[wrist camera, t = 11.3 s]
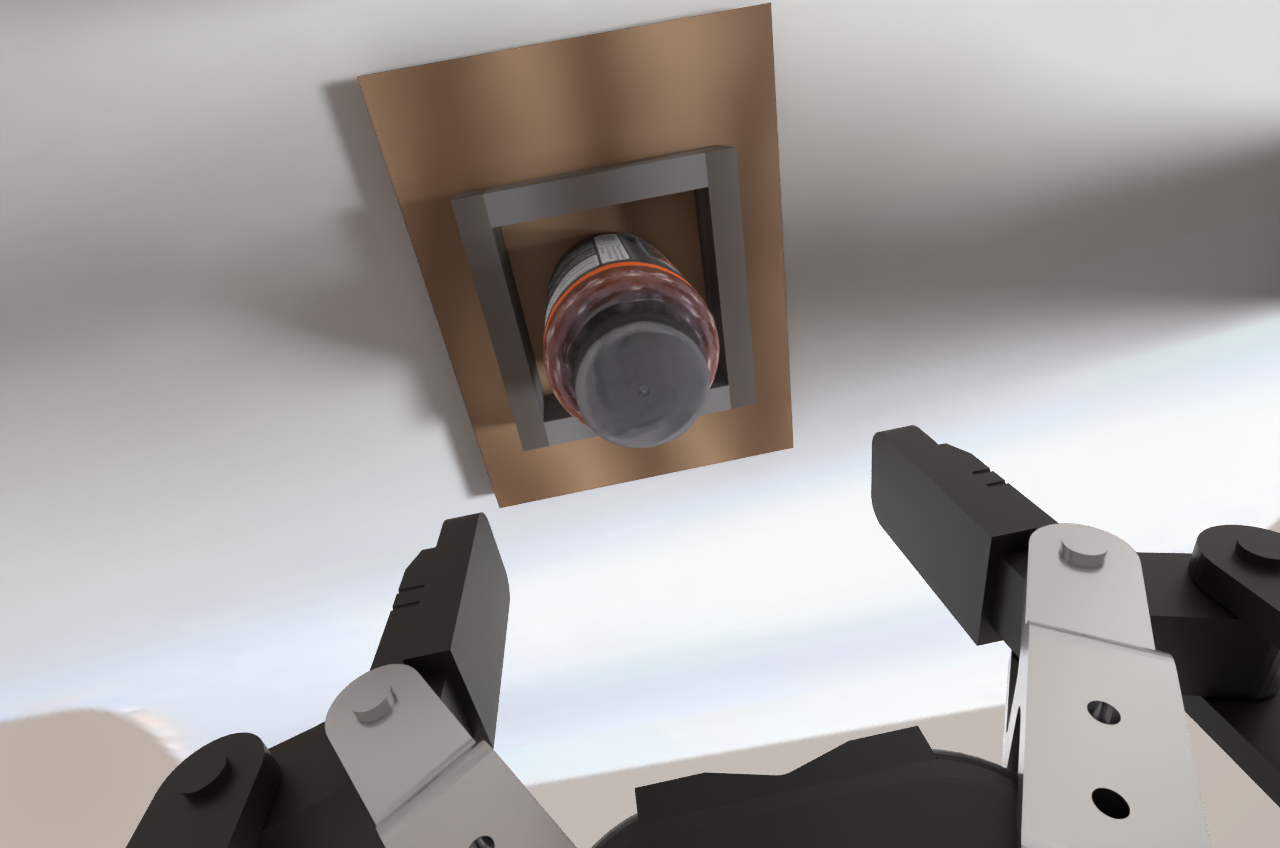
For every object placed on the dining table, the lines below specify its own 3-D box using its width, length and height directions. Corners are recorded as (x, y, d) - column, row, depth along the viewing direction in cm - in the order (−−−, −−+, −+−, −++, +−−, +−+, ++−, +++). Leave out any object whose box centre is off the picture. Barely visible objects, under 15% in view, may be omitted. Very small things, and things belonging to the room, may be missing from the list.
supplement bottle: (700, 309, 28) (781, 410, 18) (598, 381, 29) (620, 514, 19) (629, 199, 26) (676, 244, 16) (519, 280, 27) (496, 373, 16)
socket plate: (759, 9, 24) (798, -14, 20) (784, 434, 34) (814, 476, 30) (368, 79, 24) (329, 69, 20) (501, 492, 33) (494, 543, 29)
